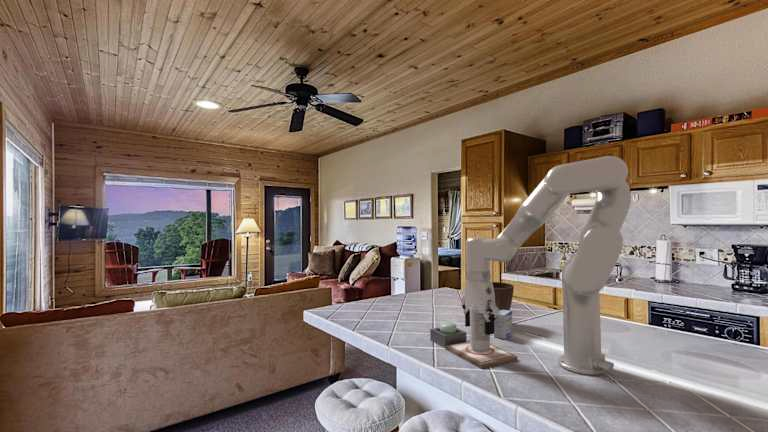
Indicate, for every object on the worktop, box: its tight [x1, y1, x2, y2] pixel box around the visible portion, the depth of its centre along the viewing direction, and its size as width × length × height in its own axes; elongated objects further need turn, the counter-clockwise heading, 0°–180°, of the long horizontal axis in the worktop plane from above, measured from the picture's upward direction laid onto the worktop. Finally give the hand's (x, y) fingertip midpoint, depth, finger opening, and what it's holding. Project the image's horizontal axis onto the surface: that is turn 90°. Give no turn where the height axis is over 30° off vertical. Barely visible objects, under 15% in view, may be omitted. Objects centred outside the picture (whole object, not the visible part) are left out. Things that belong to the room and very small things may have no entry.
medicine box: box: [493, 310, 513, 340], centre depth 135 cm, size 8×4×9 cm, turn 143°
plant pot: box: [489, 281, 515, 317], centre depth 150 cm, size 15×15×16 cm
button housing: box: [429, 326, 468, 348], centre depth 129 cm, size 9×9×4 cm
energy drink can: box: [469, 305, 491, 352], centre depth 117 cm, size 6×6×15 cm
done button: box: [439, 322, 457, 334], centre depth 129 cm, size 6×6×3 cm
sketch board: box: [445, 340, 518, 369], centre depth 117 cm, size 18×14×2 cm
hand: (479, 329), depth 117 cm, fingers open, 9 cm apart
